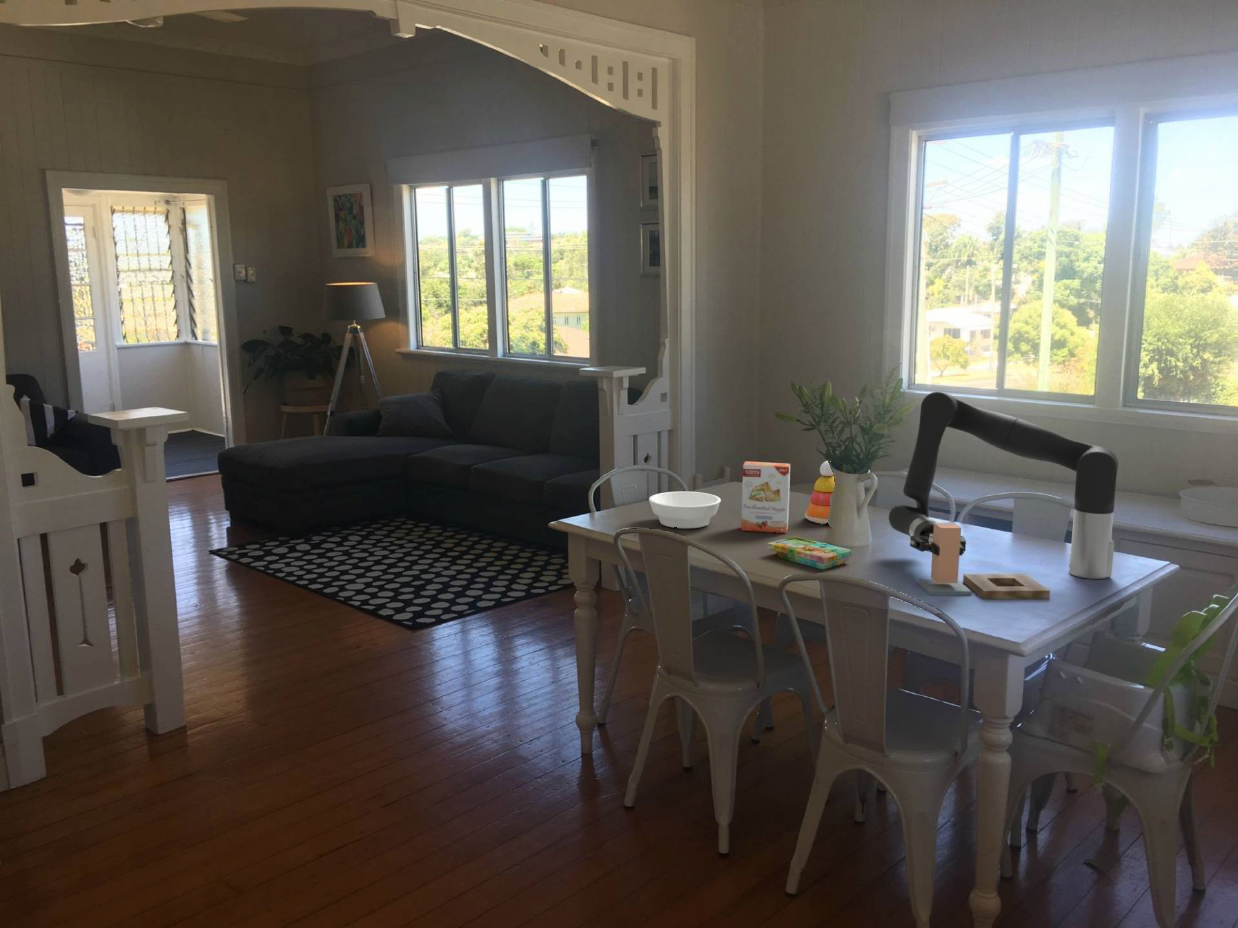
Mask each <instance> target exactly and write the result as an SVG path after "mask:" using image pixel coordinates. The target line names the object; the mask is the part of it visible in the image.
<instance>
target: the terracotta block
mask: <svg viewBox="0 0 1238 928" xmlns="http://www.w3.org/2000/svg"><path fill="white" fill-rule="evenodd" d="M961 534H962V527H960V526H959V525H958V524H957V523H955V522H936V523H934V532H933V543H935V544H936V545H938V546H939V547H940V553H939V556H936V555H935V554H933V553H931V567H930V568H931V569H930V579H933V580H934V581H936V582H937V583H958V581H959V569H960V568H959V567H960V566H959V565H960V555H959V553H960V538H961V536H962V535H961Z"/></svg>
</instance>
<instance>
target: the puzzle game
mask: <svg viewBox="0 0 1238 928" xmlns="http://www.w3.org/2000/svg"><path fill="white" fill-rule="evenodd" d="M766 548H767V549H768V550H770V551H773V552H776V553H777V556H778V557H779V559H784V560H786V561H791V562H794V563H798V564H802V565H805V566H809V567H812V568H816V569H820V570H826V569H830V568H834V567H836V566H835V565H837V566H840V564H841V565H844V564H845V563H846V562H847V561H848V560H849V559H850V558H851V556H852V550H851V549H848V548H846V547H845V548H844V547H841V546H836V545H833V544H832V545H831V544H829V543H827V542H819V541H816V540H811V539H807V538H804V537H803V538H802V537H798V536H791V537H787V538H783V539H778V540H775V541H771V542H767V543H766ZM843 563H844V564H843ZM833 566H834V567H833Z"/></svg>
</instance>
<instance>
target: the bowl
mask: <svg viewBox="0 0 1238 928" xmlns="http://www.w3.org/2000/svg"><path fill="white" fill-rule="evenodd" d="M648 501H649V504H650V506H651V510H652V513H653V514H655V515H656V516H657V517H658V519H659V522H660V524H661V525H663V526H666V527H670V528H674V527H677V528H676V529H697V528H703V527H706V526H707V525H709V524H710V521H711V518H712V517H714V516H715V515H716V514H717V512H718V510H719V507H720V504H721V502H722V500H721V498H720V497H719V496H717V495H714V494H710V493H706V492H700V491H668V492H666V491H665V492H661V493H656V494H653V495H651V496H649V498H648Z"/></svg>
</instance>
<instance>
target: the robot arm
mask: <svg viewBox="0 0 1238 928" xmlns="http://www.w3.org/2000/svg"><path fill="white" fill-rule="evenodd" d="M947 428H950V429H953V430H958V431H961V432H964V433H967V434H970V435H972V436H974V437H975V438H978V439H980V440H981V441H983V442H984V443H987V444H989V445H991V446H992V447H995V448H997V449H999V450H1002V451H1003V452H1004V451H1005V452H1007V453H1010V454H1012V455H1016V456H1018V457H1022V458H1026V459H1031V460H1036V461H1040V462H1048V463H1052V464H1057V465H1059V466H1062V467H1065V469H1066V468H1067V469H1068V470H1071V471H1073V472H1076V473H1075V475H1076V476H1075V486H1074V487H1075V489H1074V510H1073V521H1072V533H1071V542H1070V543H1071V545H1070V555H1069V556H1070V557H1069V564H1068V565H1069V567H1068V573H1069V574H1070V575H1072V576H1074V577H1079V578H1084V579H1091V580H1099V579H1107V578H1111V577H1112V571H1113V561H1114V553H1115V552H1114V550H1115V541H1114V540H1113V539H1112V533H1113V522H1114V521H1113V520H1114V513H1115V512H1114V511H1115V500H1116V499H1115V498H1116V497H1115V496H1116V488H1117V487H1116V486H1117V477H1118V476H1117V474H1118V469H1119V461H1118V458H1117V456H1116V454H1114V452H1113V451H1112V450H1110V449H1108V448H1106V447H1103V446H1098V445H1095V444H1089V443H1086V442H1083V441H1082V442H1081V441H1079V440H1074V439H1071V438H1068V437H1065V436H1063V435H1060V434H1058V433H1056V432H1054V431H1052V430H1049V429H1047V428H1044V427H1042V426H1039V425H1038V424H1035V423H1033V422H1030V421H1027V420H1025V419H1021V418H1018V417H1015V416H1012V415H1009V414H1005V413H1001V412H997V411H991V410H986V409H983V408H979V407H976V406H974V405H972V404H970V403H967V402H965V401H963V400H962V399H959V398H957V397H956V396H953V395H952V394H950V393H948V392H945V391H943V392H942V391H934V392H931V393H929V394H927V395H926V396H925V397H924V398H923V399H922V402H921V404H920V413H919V424H918V432H917V438H916V443H915V447H914V450H913V454H912V457H911V461H910V464H909V468H908V471H907V475H906V479H905V483H904V486H903V489H902V491H903V494H904V496H906V497H907V498H910V499H912V500H914V501H915V504H916V507H914V506H910V505H905V504H897V505H894V506H893V507H892V508H891V509H890V510H889V514H888V522H889V524H890V526H891V528H892V529H894V530H895V531H897V532H900V533H902V534H904V535H906V536H908V537H909V538H910V541H909V546H910V547H911V548H913V549H915V550H917V551H919V552H923V553H924V552H927V553H930V554H932V553H933V554H935V555H936V556H939V553H940V547H939V546H938V545H936V544H935V543H933V532H934V523H937V521H936V520H934V519H931V518H929V516H930V514H929V512H930V511H929V507H930V506H929V505H930V503H929V501H930V494H931V490H932V486H933V484H934V483H933V482H934V479H935V476H936V475H935V474H936V469H937V464H938V456H939V451H940V447H941V443H942V438H943V436H944V433H945V431H946V429H947ZM966 544H967V540H966V538H965V536H963V535H961V538H960V553H959V556H963V555H965V554H964V553H965V552H966V548H967V547H966Z"/></svg>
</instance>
